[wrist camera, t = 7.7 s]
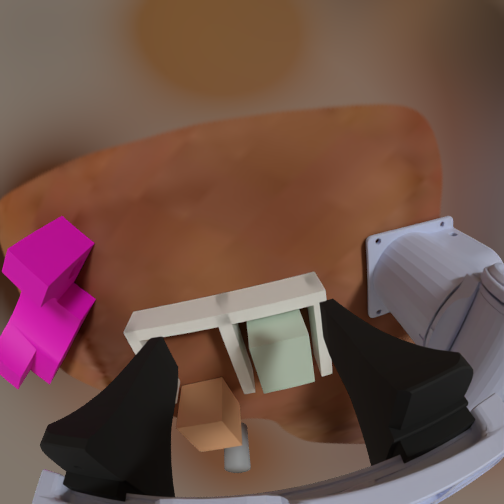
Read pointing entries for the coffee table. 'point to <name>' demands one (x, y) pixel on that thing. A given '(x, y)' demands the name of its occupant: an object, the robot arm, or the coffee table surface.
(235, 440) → the handled block
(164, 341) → the robot arm
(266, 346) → the green block
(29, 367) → the toy block
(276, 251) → the coffee table surface
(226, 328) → the rack
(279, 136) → the coffee table surface
